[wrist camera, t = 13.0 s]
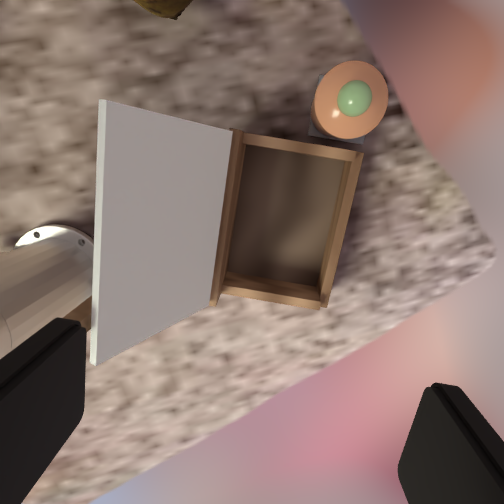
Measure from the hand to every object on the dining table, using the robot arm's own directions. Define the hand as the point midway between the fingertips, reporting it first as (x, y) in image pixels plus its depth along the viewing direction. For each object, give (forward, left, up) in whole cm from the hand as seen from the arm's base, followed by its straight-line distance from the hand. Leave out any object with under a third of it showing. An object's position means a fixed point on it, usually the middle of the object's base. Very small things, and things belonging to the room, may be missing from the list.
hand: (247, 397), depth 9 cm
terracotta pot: (+5, +12, -32) cm, 34 cm away
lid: (-7, 0, -17) cm, 19 cm away
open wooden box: (-2, -1, -32) cm, 32 cm away
